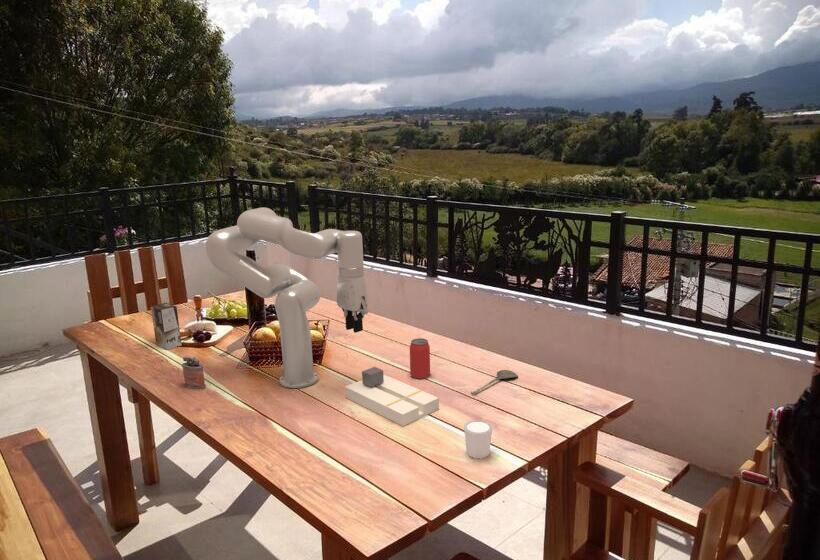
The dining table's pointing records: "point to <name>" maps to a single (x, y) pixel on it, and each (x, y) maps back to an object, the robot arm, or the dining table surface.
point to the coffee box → (166, 325)
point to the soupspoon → (501, 375)
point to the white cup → (478, 438)
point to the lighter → (193, 373)
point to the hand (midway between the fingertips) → (354, 329)
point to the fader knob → (372, 377)
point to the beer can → (419, 358)
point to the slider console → (393, 400)
